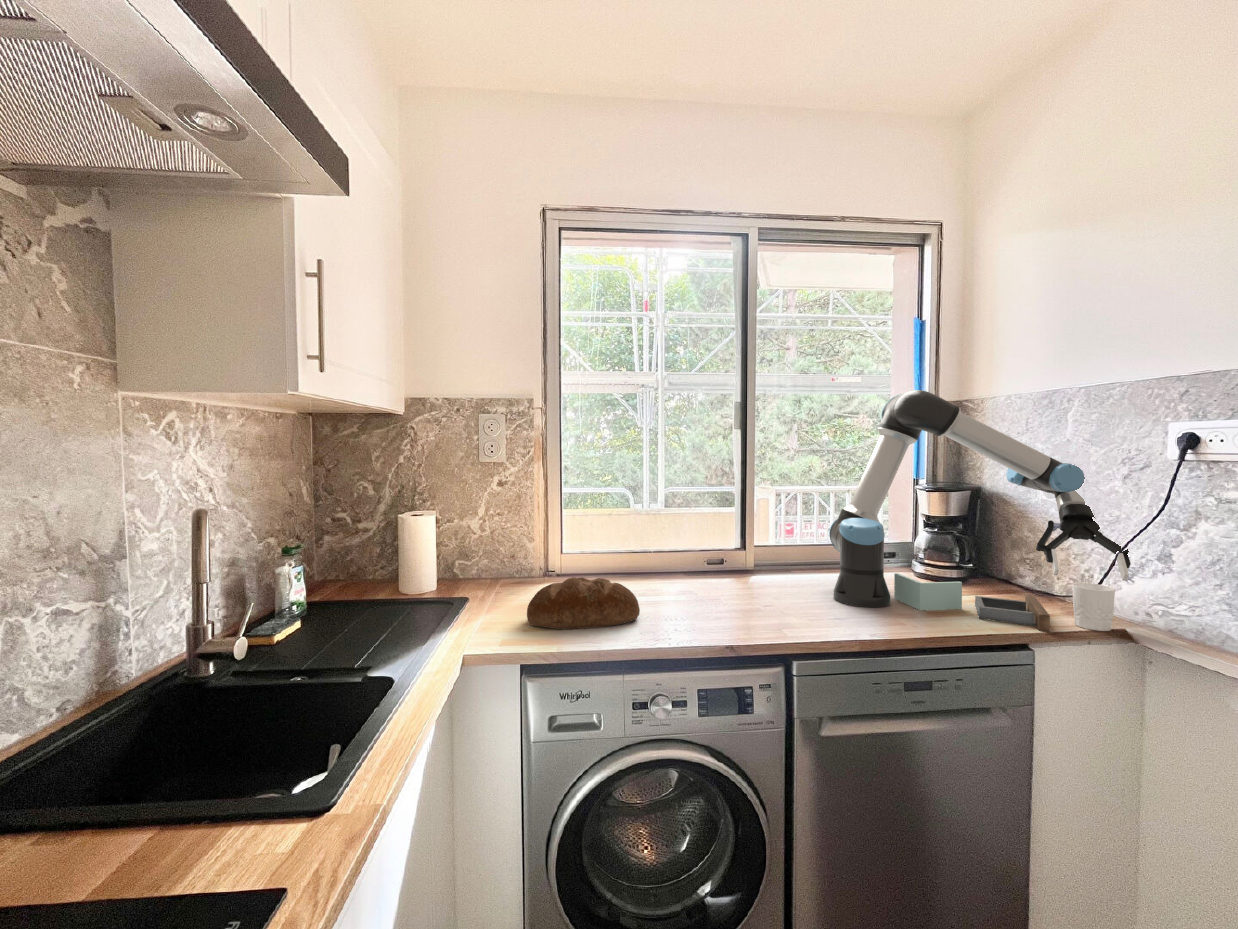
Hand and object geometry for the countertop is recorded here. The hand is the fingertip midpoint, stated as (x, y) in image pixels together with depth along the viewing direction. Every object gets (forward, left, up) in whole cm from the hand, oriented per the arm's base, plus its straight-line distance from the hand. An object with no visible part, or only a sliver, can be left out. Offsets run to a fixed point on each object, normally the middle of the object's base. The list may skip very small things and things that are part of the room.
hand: (1090, 575), depth 136 cm
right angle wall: (-36, -4, -12) cm, 38 cm away
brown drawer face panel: (-12, -7, -11) cm, 18 cm away
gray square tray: (-18, -7, -11) cm, 23 cm away
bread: (-114, -64, -12) cm, 131 cm away
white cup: (-1, -7, -12) cm, 14 cm away
